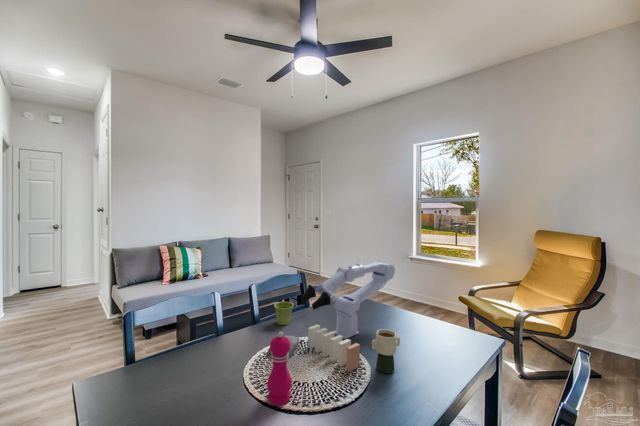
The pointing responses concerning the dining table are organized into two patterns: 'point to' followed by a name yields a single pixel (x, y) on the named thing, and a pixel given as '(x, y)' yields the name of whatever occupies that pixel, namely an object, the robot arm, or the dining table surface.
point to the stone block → (292, 344)
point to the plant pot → (283, 312)
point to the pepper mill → (279, 371)
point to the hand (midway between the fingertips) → (307, 303)
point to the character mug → (385, 349)
